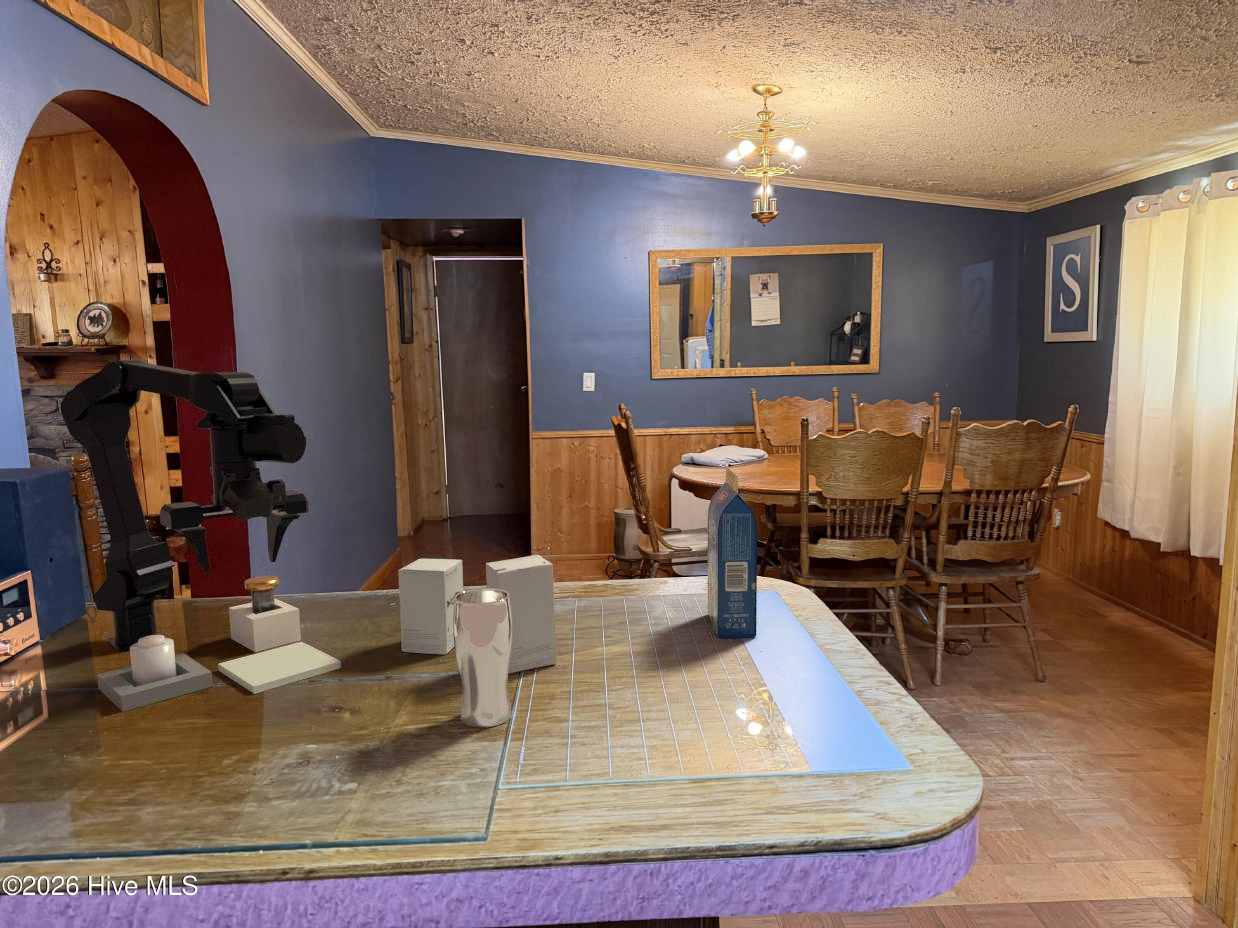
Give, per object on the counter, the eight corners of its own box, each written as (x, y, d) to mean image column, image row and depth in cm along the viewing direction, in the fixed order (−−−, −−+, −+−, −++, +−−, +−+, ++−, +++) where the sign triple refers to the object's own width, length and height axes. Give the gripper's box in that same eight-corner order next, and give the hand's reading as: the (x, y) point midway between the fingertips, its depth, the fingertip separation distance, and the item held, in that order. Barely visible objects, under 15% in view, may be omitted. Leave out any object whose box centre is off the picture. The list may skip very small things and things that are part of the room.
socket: (98, 688, 108) (97, 674, 107) (184, 666, 115) (183, 652, 115) (122, 711, 100) (121, 696, 100) (212, 686, 108) (211, 671, 108)
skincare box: (543, 652, 119) (540, 553, 117) (558, 665, 114) (556, 562, 112) (487, 662, 115) (484, 560, 113) (500, 676, 110) (497, 569, 108)
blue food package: (744, 613, 136) (745, 465, 133) (757, 637, 124) (758, 475, 121) (706, 614, 136) (706, 466, 133) (716, 638, 124) (716, 476, 121)
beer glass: (460, 705, 101) (455, 588, 99) (516, 703, 101) (512, 586, 99) (453, 731, 94) (448, 605, 92) (514, 728, 94) (510, 603, 92)
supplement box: (447, 655, 118) (443, 570, 117) (400, 652, 120) (396, 568, 118) (466, 638, 125) (463, 558, 124) (422, 635, 127) (418, 556, 125)
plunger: (242, 614, 126) (239, 580, 125) (272, 607, 129) (270, 574, 128) (254, 621, 122) (252, 585, 122) (286, 613, 126) (283, 579, 125)
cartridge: (128, 688, 108) (124, 639, 107) (169, 677, 111) (165, 629, 110) (140, 698, 104) (136, 647, 103) (182, 687, 108) (178, 637, 107)
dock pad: (218, 670, 113) (218, 663, 113) (301, 647, 122) (301, 641, 122) (254, 693, 105) (253, 686, 105) (340, 667, 114) (340, 660, 114)
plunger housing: (231, 638, 127) (228, 607, 126) (275, 627, 132) (273, 597, 131) (255, 652, 120) (252, 619, 120) (301, 640, 126) (298, 608, 125)
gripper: (180, 472, 104) (188, 591, 106) (322, 460, 116) (327, 566, 119) (155, 464, 112) (163, 575, 114) (290, 453, 124) (295, 553, 126)
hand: (240, 567), depth 118 cm, fingers open, 9 cm apart
